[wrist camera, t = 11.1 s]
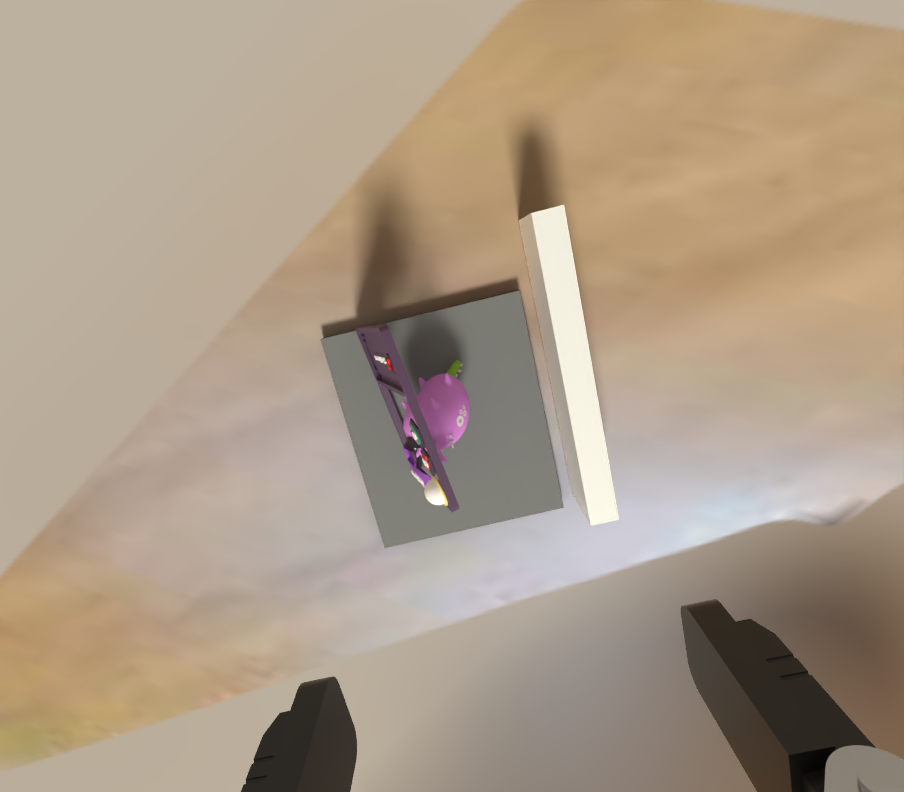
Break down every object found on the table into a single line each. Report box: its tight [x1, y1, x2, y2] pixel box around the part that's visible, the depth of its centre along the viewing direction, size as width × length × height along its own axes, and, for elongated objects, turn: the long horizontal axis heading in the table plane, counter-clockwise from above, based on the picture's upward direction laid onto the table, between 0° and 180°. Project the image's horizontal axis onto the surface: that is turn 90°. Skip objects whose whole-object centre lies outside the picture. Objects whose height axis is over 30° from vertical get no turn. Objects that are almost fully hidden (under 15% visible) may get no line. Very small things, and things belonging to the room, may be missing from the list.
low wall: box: [519, 205, 619, 526], centre depth 27 cm, size 2×16×4 cm, turn 14°
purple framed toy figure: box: [355, 325, 470, 513], centre depth 26 cm, size 7×5×9 cm
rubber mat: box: [321, 290, 564, 548], centre depth 29 cm, size 11×13×1 cm
